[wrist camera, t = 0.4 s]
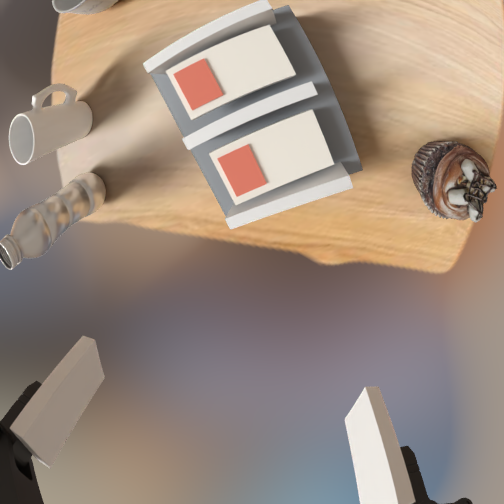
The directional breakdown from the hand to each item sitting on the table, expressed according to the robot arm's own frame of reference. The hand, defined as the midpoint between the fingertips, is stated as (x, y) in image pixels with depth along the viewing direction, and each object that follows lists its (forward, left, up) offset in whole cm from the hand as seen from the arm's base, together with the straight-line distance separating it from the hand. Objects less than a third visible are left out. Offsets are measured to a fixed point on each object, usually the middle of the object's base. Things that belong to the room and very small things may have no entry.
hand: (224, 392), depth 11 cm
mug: (+20, -24, -27) cm, 41 cm away
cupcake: (-22, +4, -27) cm, 35 cm away
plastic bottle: (+25, -12, -27) cm, 39 cm away
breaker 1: (-3, -14, -20) cm, 25 cm away
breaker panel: (-3, -10, -27) cm, 29 cm away
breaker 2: (-3, -5, -20) cm, 21 cm away
